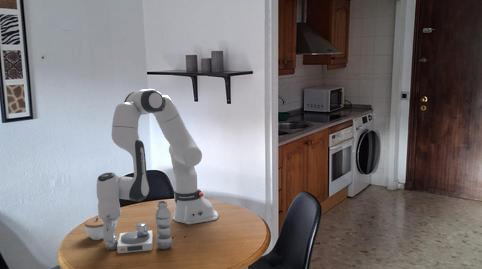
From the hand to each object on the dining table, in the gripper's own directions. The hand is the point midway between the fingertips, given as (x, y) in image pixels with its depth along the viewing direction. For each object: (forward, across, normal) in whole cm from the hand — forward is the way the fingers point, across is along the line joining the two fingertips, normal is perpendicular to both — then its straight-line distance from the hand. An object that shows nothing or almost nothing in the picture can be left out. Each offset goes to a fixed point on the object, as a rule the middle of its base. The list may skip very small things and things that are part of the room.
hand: (111, 243), depth 179 cm
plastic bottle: (+2, -5, -22) cm, 22 cm away
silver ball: (-2, +1, -13) cm, 13 cm away
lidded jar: (+2, +13, +7) cm, 15 cm away
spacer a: (+2, 0, 0) cm, 2 cm away
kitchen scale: (+2, +1, -10) cm, 10 cm away
